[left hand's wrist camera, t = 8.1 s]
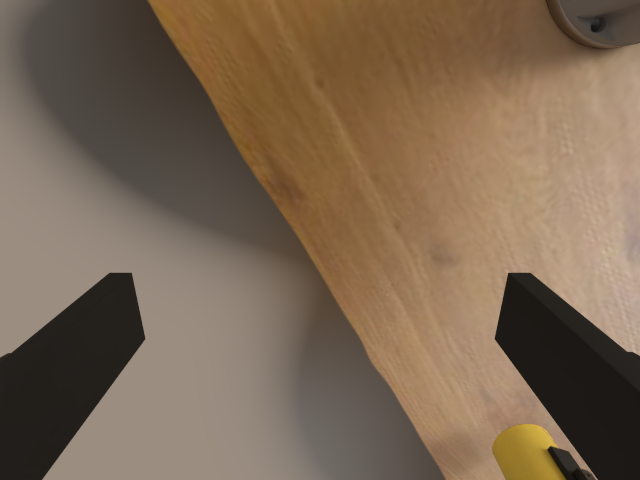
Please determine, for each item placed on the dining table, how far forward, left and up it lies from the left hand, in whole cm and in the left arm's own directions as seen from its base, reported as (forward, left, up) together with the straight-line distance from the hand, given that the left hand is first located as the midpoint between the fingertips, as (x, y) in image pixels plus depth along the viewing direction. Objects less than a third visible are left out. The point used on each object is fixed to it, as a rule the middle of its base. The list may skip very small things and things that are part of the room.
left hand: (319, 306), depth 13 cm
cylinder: (+46, +14, -26) cm, 54 cm away
